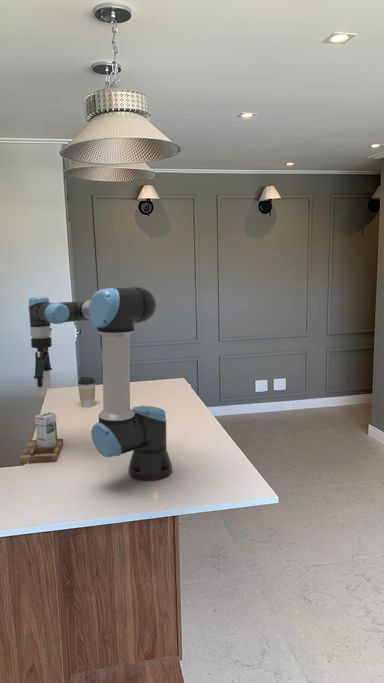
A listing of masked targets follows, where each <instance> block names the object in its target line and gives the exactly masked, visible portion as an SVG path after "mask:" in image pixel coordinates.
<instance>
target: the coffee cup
mask: <svg viewBox="0 0 384 683" xmlns="http://www.w3.org/2000/svg"><path fill="white" fill-rule="evenodd" d="M77 384H78V392H79V393H78V394H79V399H80V407H81V408H84V407H85V408H92V406H93V407H94V406H95V398H96V380H95V379H94V378H93V377H84V376H83V377H80V378H79V380H78V381H77Z"/></svg>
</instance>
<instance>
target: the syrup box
mask: <svg viewBox="0 0 384 683" xmlns="http://www.w3.org/2000/svg"><path fill="white" fill-rule="evenodd" d="M34 422H35V434H36V440H37V447H53V446H56V445H57V443H58V442H57V439H58V432H57V431H58V429H57V415H56V413H54V412H49V411H48V412H47V411H45V412H44V413H40V414H37V415H36V414H35V415H34Z"/></svg>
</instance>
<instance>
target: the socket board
mask: <svg viewBox="0 0 384 683" xmlns="http://www.w3.org/2000/svg"><path fill="white" fill-rule="evenodd" d="M57 442H58V443H57V445H56V446H53V447H37V439H30V440H29V442H28V443H27V445H26V447H25V448H24V449H23V452H22V453H21V454H20V456H19V464H20V465H24V464H25V465H26V464H27V462H28V464H42V463H57V461H58V458H59V457H60V454H61V451H62V449H63V447H64V438H57Z"/></svg>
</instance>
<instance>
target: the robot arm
mask: <svg viewBox="0 0 384 683" xmlns="http://www.w3.org/2000/svg"><path fill="white" fill-rule="evenodd" d="M156 310H157V301H156V298H155V296H154V294H153V293H152V292H151V291H150V290H148V289H146V288H144V287H140V286H139V287H138V286H133V287H108V288H102V289H99V290H97V291H96V292H94V294H93V295H92V297H91V298H90V299H88V300H79V301H78V300H77V301H61V302H50V299H49V297H47V296H34V297H31V296H30V297H29V299H28V312H29V314H28V315H29V316H28V317H29V327H30V330H29V332H30V337H31V339H30V343H31V345H30V346H31V348H32V349H36V350H37V351H35V353H34V355H35V362H34V363H35V365H34V366H35V367H34V368H35V369H34V375H33V379H36V394H37V396H45V395H46V389H45V388H51V387H52V380H51V371H52V370H53V367H52V366H51V361H50V354H49V348H51V347H52V344H53V342H52V337H51V336H52V333H51V332H52V331H53V328H52V327H51V324H54V325H58V324H59V325H60V324H61V325H62V324H65V323H70V322H80V321H81V322H82V321H90V322H91V324H92V325H93V326H94V327H96V332H97V333H98V334H99V335H100V336H101V345H102V346H101V347H102V348H101V349H102V350H101V351H102V352H101V354H102V404H103V405H102V406H103V408H102V410H101V411H100V412H99V413H98V422H96V423H95V424H94V425H92V427H91V430H90V431H91V432H90V434H91V439H92V443H93V445H94V448H96V450H97V451H98V453H99V454H100V455H102V457H105V458H113V457H119V456H121V455H123V454H126V453H129V452H132V453H131V454H132V455H131V458H130V462H129V465H128V475H129V476H130V477H131V478H133V479H135V480H139V481H140V480H141V481H157V480H161V479H164V478H167V477H168V476H170V475H171V474H172V472H173V465H172V464H173V463H172V462H171V458H170V455H169V453H168V450H167V416H166V412H165V410H164V409H163V408H160V407H156V406H149V405H138V406H134V407H132V409H131V375H130V374H131V368H130V367H131V363H130V362H131V359H130V358H131V355H130V354H131V353H130V352H131V351H130V349H131V348H130V345H131V342H130V340H131V339H130V337H131V335H132V334H134V332H135V324H140V323H143V322H144V323H145V322H147V321H149V319H151V318H152V317H153V316H154V314H155V312H156Z"/></svg>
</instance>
